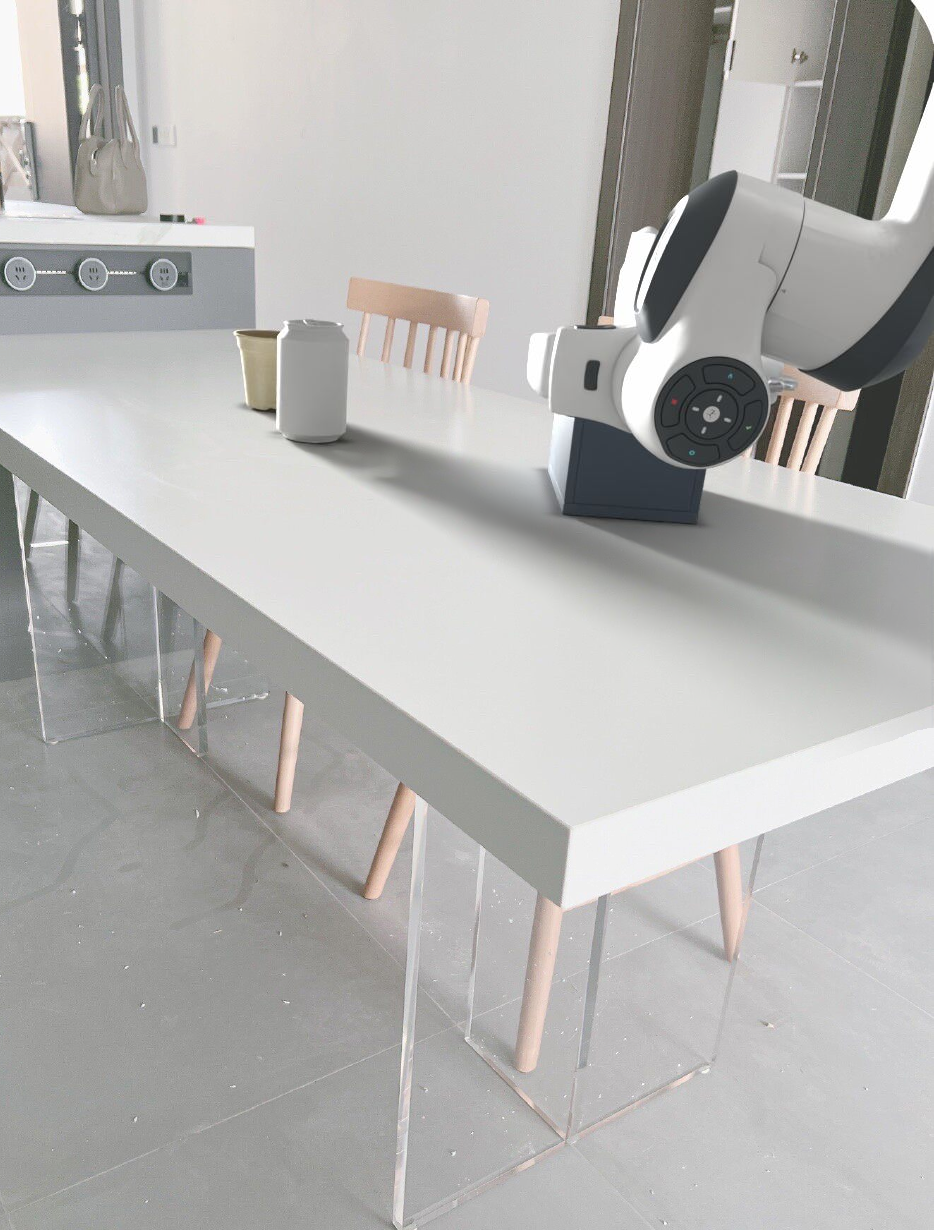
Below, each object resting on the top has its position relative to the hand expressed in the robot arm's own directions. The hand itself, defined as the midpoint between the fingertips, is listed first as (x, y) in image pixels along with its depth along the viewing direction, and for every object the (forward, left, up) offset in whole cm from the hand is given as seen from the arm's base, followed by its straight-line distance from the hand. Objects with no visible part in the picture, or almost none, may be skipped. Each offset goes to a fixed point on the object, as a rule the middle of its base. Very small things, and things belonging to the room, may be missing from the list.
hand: (639, 356), depth 93 cm
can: (+31, -19, -13) cm, 38 cm away
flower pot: (+38, -36, -13) cm, 54 cm away
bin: (0, -2, -13) cm, 13 cm away
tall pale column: (0, -2, -12) cm, 12 cm away
